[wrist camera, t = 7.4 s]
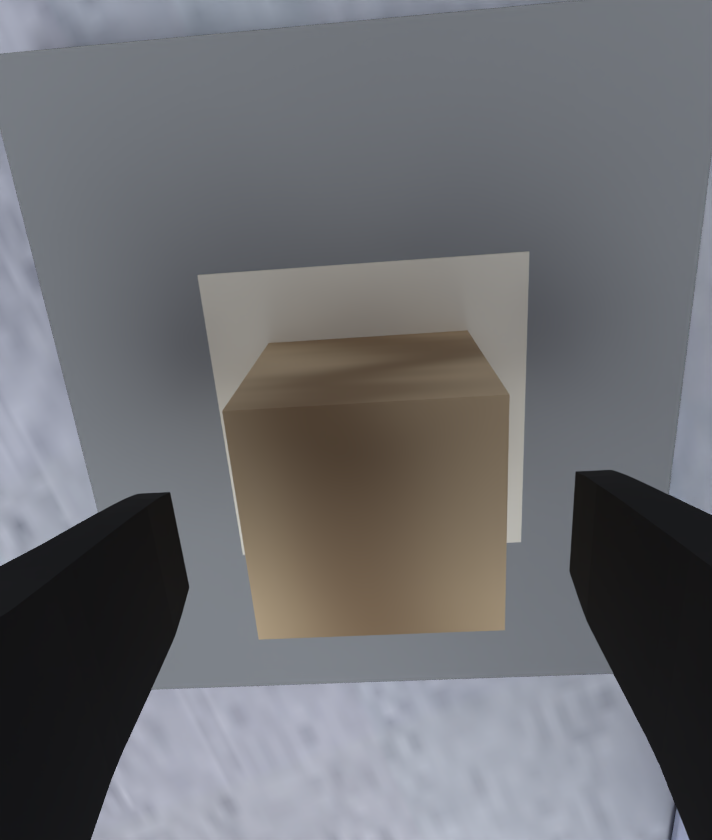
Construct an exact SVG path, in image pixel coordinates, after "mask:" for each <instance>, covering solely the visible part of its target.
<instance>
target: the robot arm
mask: <svg viewBox="0 0 712 840" xmlns="http://www.w3.org/2000/svg"><path fill="white" fill-rule="evenodd" d="M569 572H570V575H571V578H572V581H573V584H574V587H575V590H576V593H577V596H578V599H579V602H580V604H581V607H582V610H583V613H584V615H585V618H586V621H587V623H588V625H589V627H590V629H591V631H592V633H593V635H594V637H595V639H596V641H597V643H598V645H599V647H600V649H601V651H602V653H603V654H604V656H605V658H606V660H607V662H608V664H609V666H610V668H611V670H612V672H613V674H614V676H615V678H616V680H617V681H618V683H619V685H620V687H621V689H622V691H623V693H624V695H625V697H626V699H627V701H628V703H629V704H630V706H631V708H632V710H633V712H634V714H635V716H636V718H637V720H638V722H639V724H640V726H641V728H642V729H643V731H644V733H645V735H646V737H647V739H648V741H649V744H650V746H651V748H652V750H653V752H654V754H655V756H656V759H657V761H658V763H659V765H660V767H661V770H662V772H663V775H664V777H665V780H666V782H667V785H668V787H669V790H670V792H671V795H672V797H673V800H674V802H675V805H676V807H677V809H676V815H675V821H674V827H673V833H672V839H671V840H712V515H710V514H708V513H706V512H704V511H702V510H700V509H698V508H695V507H693V506H691V505H689V504H687V503H685V502H683V501H681V500H679V499H677V498H675V497H672V496H670V495H668V494H666V493H664V492H662V491H660V490H658V489H656V488H654V487H652V486H650V485H648V484H645V483H643V482H641V481H639V480H637V479H634V478H632V477H630V476H628V475H625V474H623V473H620V472H617V471H614V470H595V471H576V472H575V487H574V504H573V520H572V536H571V552H570V568H569ZM188 591H189V582H188V577H187V573H186V568H185V563H184V558H183V553H182V548H181V543H180V538H179V533H178V528H177V523H176V518H175V513H174V508H173V503H172V499H171V494H170V492H161V493H141V494H135V495H133V496H130V497H128V498H125V499H123V500H121V501H119V502H117V503H115V504H113V505H111V506H109V507H108V508H106V509H104V510H102V511H100V512H98V513H97V514H95V515H93V516H91V517H90V518H88V519H86V520H84V521H82V522H81V523H79V524H77V525H75V526H74V527H72V528H70V529H68V530H67V531H65V532H63V533H61V534H59V535H58V536H56V537H54V538H52V539H51V540H49V541H47V542H45V543H43V544H42V545H40V546H38V547H36V548H34V549H32V550H30V551H28V552H27V553H25V554H23V555H21V556H19V557H17V558H15V559H13V560H11V561H9V562H7V563H6V564H4V565H2V566H0V840H91V837H92V834H93V831H94V828H95V825H96V823H97V820H98V817H99V814H100V811H101V808H102V805H103V802H104V799H105V796H106V793H107V790H108V788H109V785H110V782H111V779H112V776H113V774H114V772H115V769H116V767H117V764H118V762H119V759H120V757H121V755H122V752H123V750H124V748H125V745H126V743H127V741H128V739H129V737H130V735H131V732H132V730H133V728H134V726H135V724H136V722H137V719H138V717H139V715H140V713H141V711H142V709H143V706H144V704H145V702H146V700H147V698H148V696H149V693H150V691H151V689H152V687H153V685H154V683H155V680H156V678H157V676H158V674H159V672H160V669H161V667H162V665H163V663H164V660H165V658H166V656H167V654H168V652H169V649H170V647H171V645H172V642H173V640H174V638H175V635H176V632H177V629H178V626H179V622H180V619H181V616H182V613H183V609H184V605H185V602H186V598H187V594H188Z"/></svg>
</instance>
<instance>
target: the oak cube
mask: <svg viewBox="0 0 712 840" xmlns="http://www.w3.org/2000/svg"><path fill="white" fill-rule="evenodd" d="M509 402H510V394H509V393H508V391H507V390H506V388H505V387H504V385H503V384H502V382H501V381H500V379H499V378H498V376H497V374H496V373H495V371H494V370H493V368H492V367H491V365H490V364H489V362H488V361H487V359H486V358H485V356H484V355H483V353H482V352H481V350H480V349H479V347H478V346H477V344H476V342H475V341H474V339H473V338H472V336H471V335H470V333H469V332H468V330H466V331H450V332H434V333H419V334H403V335H387V336H371V337H356V338H340V339H324V340H309V341H293V342H277V343H268V345H267V346H266V348H265V349H264V351H263V352H262V353H261V355H260V356H259V358H258V359H257V361H256V362H255V364H254V365H253V367H252V368H251V370H250V371H249V372H248V374H247V375H246V377H245V378H244V380H243V381H242V383H241V384H240V386H239V387H238V389H237V390H236V392H235V393H234V394H233V396H232V397H231V399H230V400H229V402H228V403H227V405H226V406H225V408H224V409H223V411H222V414H223V420H224V426H225V433H226V439H227V445H228V451H229V458H230V464H231V470H232V476H233V483H234V489H235V495H236V501H237V508H238V514H239V520H240V526H241V533H242V539H243V545H244V551H245V558H246V564H247V570H248V576H249V582H250V589H251V595H252V601H253V607H254V614H255V620H256V626H257V632H258V639H259V640H262V639H288V638H314V637H341V636H367V635H394V634H420V633H446V632H473V631H499V630H505V597H506V548H507V500H508V451H509Z"/></svg>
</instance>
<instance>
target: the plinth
mask: <svg viewBox="0 0 712 840" xmlns="http://www.w3.org/2000/svg"><path fill="white" fill-rule="evenodd" d="M0 130H1V134H2V138H3V142H4V146H5V150H6V154H7V158H8V162H9V165H10V169H11V173H12V177H13V181H14V185H15V189H16V193H17V197H18V201H19V205H20V209H21V212H22V216H23V220H24V224H25V228H26V232H27V236H28V240H29V244H30V248H31V252H32V255H33V259H34V263H35V267H36V271H37V275H38V279H39V283H40V287H41V291H42V295H43V299H44V302H45V306H46V310H47V314H48V318H49V322H50V326H51V330H52V334H53V338H54V342H55V345H56V349H57V353H58V357H59V361H60V365H61V369H62V373H63V377H64V381H65V385H66V389H67V392H68V396H69V400H70V404H71V408H72V412H73V416H74V420H75V424H76V428H77V432H78V435H79V439H80V443H81V447H82V451H83V455H84V459H85V463H86V467H87V471H88V475H89V479H90V482H91V486H92V490H93V494H94V498H95V502H96V506H97V510H98V512H100V511H102V510H104V509H106V508H108V507H109V506H111V505H113V504H115V503H117V502H119V501H121V500H123V499H125V498H128V497H130V496H133V495H135V494H141V493H161V492H170V494H171V499H172V503H173V508H174V513H175V518H176V523H177V528H178V533H179V538H180V543H181V548H182V553H183V558H184V563H185V568H186V573H187V577H188V582H189V591H188V594H187V598H186V602H185V605H184V609H183V613H182V616H181V619H180V622H179V626H178V629H177V632H176V635H175V638H174V640H173V642H172V645H171V647H170V649H169V652H168V654H167V656H166V658H165V660H164V663H163V665H162V667H161V669H160V672H159V674H158V676H157V678H156V680H155V683H154V685H153V687H152V689H151V690H154V689H183V688H211V687H240V686H269V685H298V684H327V683H356V682H384V681H413V680H442V679H471V678H500V677H529V676H557V675H586V674H613V672H612V670H611V668H610V666H609V664H608V662H607V660H606V658H605V656H604V654H603V653H602V651H601V649H600V647H599V645H598V643H597V641H596V639H595V637H594V635H593V633H592V631H591V629H590V627H589V625H588V623H587V621H586V618H585V615H584V613H583V610H582V607H581V604H580V602H579V599H578V596H577V593H576V590H575V587H574V584H573V581H572V578H571V575H570V572H569V568H570V552H571V536H572V520H573V504H574V487H575V472H576V471H595V470H614V471H617V472H620V473H623V474H625V475H628V476H630V477H632V478H634V479H637V480H639V481H641V482H643V483H645V484H648V485H650V486H652V487H654V488H656V489H658V490H660V491H662V492H664V493H666V494H668V495H669V487H670V479H671V471H672V464H673V456H674V448H675V440H676V432H677V424H678V416H679V408H680V400H681V392H682V384H683V376H684V368H685V360H686V353H687V345H688V337H689V329H690V321H691V313H692V305H693V297H694V289H695V281H696V273H697V265H698V257H699V249H700V242H701V234H702V226H703V218H704V210H705V202H706V194H707V186H708V178H709V170H710V162H711V154H712V0H578V1H567V2H556V3H545V4H534V5H524V6H513V7H502V8H491V9H480V10H469V11H458V12H448V13H437V14H426V15H415V16H404V17H393V18H383V19H372V20H361V21H350V22H339V23H328V24H317V25H307V26H296V27H285V28H274V29H263V30H252V31H241V32H231V33H220V34H209V35H198V36H187V37H176V38H166V39H155V40H144V41H133V42H122V43H111V44H100V45H90V46H79V47H68V48H57V49H46V50H35V51H24V52H14V53H3V54H0ZM466 330H468V332H469V333H470V335H471V336H472V338H473V339H474V341H475V342H476V344H477V346H478V347H479V349H480V350H481V352H482V353H483V355H484V356H485V358H486V359H487V361H488V362H489V364H490V365H491V367H492V368H493V370H494V371H495V373H496V374H497V376H498V378H499V379H500V381H501V382H502V384H503V385H504V387H505V388H506V390H507V391H508V393H509V394H510V402H509V451H508V500H507V548H506V597H505V630H499V631H473V632H446V633H420V634H394V635H367V636H341V637H314V638H288V639H262V640H259V639H258V632H257V626H256V620H255V614H254V607H253V601H252V595H251V589H250V582H249V576H248V570H247V564H246V558H245V551H244V545H243V539H242V533H241V526H240V520H239V514H238V508H237V501H236V495H235V489H234V483H233V476H232V470H231V464H230V458H229V451H228V445H227V439H226V433H225V426H224V420H223V414H222V411H223V409H224V408H225V406H226V405H227V403H228V402H229V400H230V399H231V397H232V396H233V394H234V393H235V392H236V390H237V389H238V387H239V386H240V384H241V383H242V381H243V380H244V378H245V377H246V375H247V374H248V372H249V371H250V370H251V368H252V367H253V365H254V364H255V362H256V361H257V359H258V358H259V356H260V355H261V353H262V352H263V351H264V349H265V348H266V346H267V345H268V343H277V342H293V341H309V340H324V339H340V338H356V337H371V336H387V335H403V334H419V333H434V332H450V331H466Z"/></svg>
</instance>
